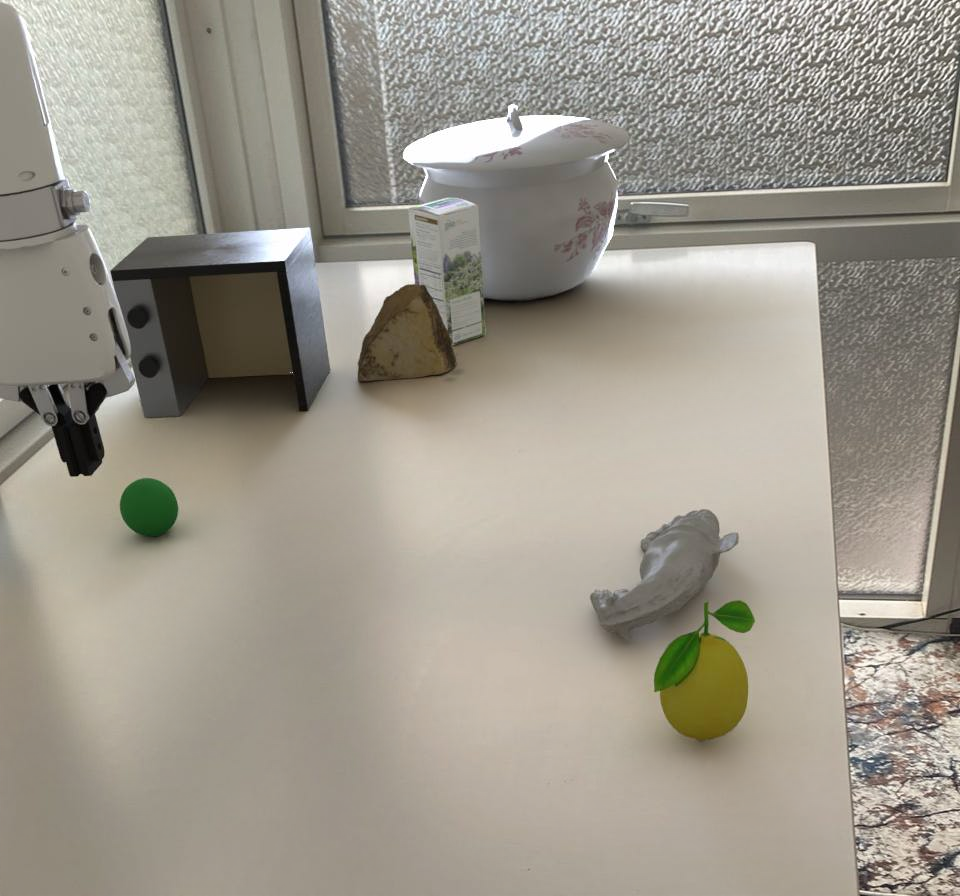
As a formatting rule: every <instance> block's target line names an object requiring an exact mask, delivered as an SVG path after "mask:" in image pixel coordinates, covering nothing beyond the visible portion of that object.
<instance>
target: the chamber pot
mask: <svg viewBox="0 0 960 896" xmlns="http://www.w3.org/2000/svg"><path fill="white" fill-rule="evenodd" d="M629 139H630V136H629V134H628V132H627V130H625V128H624V127H621V126H618V125H616V124H613V123H610V122H605V121H602V120H599V119H592V118H587V117H580V116H566V115H523V116H520V114H519V112H518V106H517V105H515V104H514V103H512V104H510V105H508V113H507V117H500V118H493V119H486V120H479V121H475V122H471V123H470V122H469V123H465V124H461V125H457V126H453V127H449V128H446V129H443V130H440V131H436V132H434V133H431V134H428V135H426V136H425V137H423V138H419V139H418V140H416V141H414V142H412V143H411V144H409V145H408V146H406V148H405V149H404V151H403V157H402V159H404V160H405V161H407V162H408V163H410V164H411V165H413V166H414V167H416V168H420V169H423V172H424V173H425V178H424V181H423V183H422V186H421V189H420V191H419V205H422V204H426V203H429V202H433V201H437V200H441V199H444V198H459V199H463V200H466V201H469V202H471V203H474V204H476V205H477V206H478V209H479V226H480V244H481V262H482V280H483V297H484V299H486V300H491V301H497V302H525V301H534V300H540V299H545V298H550V297H554V296H556V295H559V294H562V293H564V292H566V291H568V290H571V289H573V288H575V287H577V286H578V285H581V284H582V283H585V282H586V280H587V279H588V278H589V277H590V275H591V274H592V273H593V272H594V271H595V269H596V268H597V266H598V263H599V262H600V260H601V258H602V256H603V254H604V253H605V250H606V249H607V247H608V245H609V243H610V241H611V239H612V237H613V234H614V226H615V222H616V216H617V210H618V204H619V201H618V200H619V199H618V198H619V197H618V194H619V193H618V191H619V189H618V187H619V186H618V179H617V177H616V175H615V173H614V170H613V169H612V167H611V165H610V163H609V162H608V161H609V157H610V155H611V153H613V152H615V151H618V150H619V149H621V147H623V146H624V144H626V143H627V141H628V140H629Z"/></svg>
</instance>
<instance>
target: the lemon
mask: <svg viewBox="0 0 960 896" xmlns="http://www.w3.org/2000/svg"><path fill="white" fill-rule="evenodd" d="M709 615H710V616H712V617H714V618H715V619H716V620H717V621H718V622H719V623H720V624H722V625H723V626H725V627H726V629H728V630H730V631H733V632H736V633H738V634H739V633H740V634H746V633H748V632H750V631H751V630H752V628H753V627H754V624H755V623H756V620H755V616H754V614H753V612H752V610H751V608H750V606H749V605H748V604H747V603H746V602H745V601H743V600H741V599H738V600H737V599H736V600H732V601H729V602H726V603H725V604H723V605H722V606H721V607H719V608H718V609H716V610H715V611H714V612H712V611H709V601H705V602H704V603H703V617H704V618H703V619H704V621H703V623H702V624H701V626H700V627H698V628H697V630H694V631H690V632H688V633H684V634H681V635H679V636H678V637H676V638H675V639H674V640H672V641H671V642H670V643H669V644H668V645H667V646H666V648H665V650H664V651H663V653H662V654H661V655H660V657H659V659H658V662H657V665H656V666H655V670H654V674H653V685H654V689H653V692H654V693H657V692H659V699H660V706H661V709H662V711H663V714H664V716H665V719H666V720H667V722H668V723H669V724H670V726H671V727H672V728H673V729H674V730H675V731H676V732H677V733H679V734H680V735H682V736H684V737H686V738H690V739H695V740H696V741H697V742H704V741H706V740H711V739H716V738H719V737H722V736H726V735H727V734H728V733H730V732H731V731H733V730H734V729H735V728H736V727H737V726H738V725H739V723H740V722H741V721H742V719H743V717H744V715H745V713H746V710H747V707H748V699H749V677H748V673H747V669H746V666H745V662H744V661H743V658H742V657H741V655H740V654H739V652H738V650H737V649H736V647H735V646H734V645H733V644H731V642H729V641H728V640H726V639H725V638H724V637H722V636H719V635H718V634H713V633H710V632H709ZM702 629H703V632H700V631H702Z"/></svg>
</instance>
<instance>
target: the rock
mask: <svg viewBox="0 0 960 896" xmlns="http://www.w3.org/2000/svg"><path fill="white" fill-rule="evenodd" d="M361 344H362V345H361V348H360V349H361V351H360V355H359V357H358V361H357V367H358V368H357V380H358V382H370V381H371V382H372V381H392V380H399V379H414V378H422V377H427V376H436V375H441V374H442V375H443V374H446V373H447V372H449V371H450V370H452V369H453V368H455V367H456V364H457V363H458V359H457V357H456V354H455V349H454V348H453V347H454V346H452V344H451V339H450V335H449V332H448V330H447V329H446V327H445V325H444V323H443V320H442V317H441V316H440V313H439V311H438V308H437V306H436V304H435V302H434V301H433V298H432V296H431V295H430V294H429V292H428V291H427V288H426V286H425V285H419V286H416V285H415V283H412V284H405V285H404V286H401V287H400V288H399V289H398V290H395V291H394V292H393V293H391V294H390V295H387V296H386V297H385V298H384V300H383V303H382V306H381V308H380V310H379V312H378V314H377V315H376V317H375V319H374V322H373V323H372V326H371V327H370V330H369V331H368V332H367V333H366V334H365V335H364V337H363V340H362V343H361Z"/></svg>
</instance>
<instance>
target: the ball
mask: <svg viewBox="0 0 960 896" xmlns="http://www.w3.org/2000/svg"><path fill="white" fill-rule="evenodd" d="M119 512H120V515H121V518H122V520H123V522H124V523H125V525H126V526H127V527H128V529H130V530H131V531H132V532H134V533H136V534H137V535H139V536H143V537H150V538H152V537H153V538H154V537H158V536H162V535H164V534H166V533H167V532H169V530H171V529H172V528H173V526H174V525H175V523H176V521H177V519H178V515H179V502H178V499H177V496H176V495H175V493H174V490H172V489H171V487H169V485H168V484H166V483H164V482H163V481H161V480H159V479H156V478H151V477H143V478H137V479H136V480H134V481H132V482H130V484H128V485H127V486H126V487H125V488H124V490H123V492H122V493H121V496H120V499H119Z"/></svg>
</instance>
